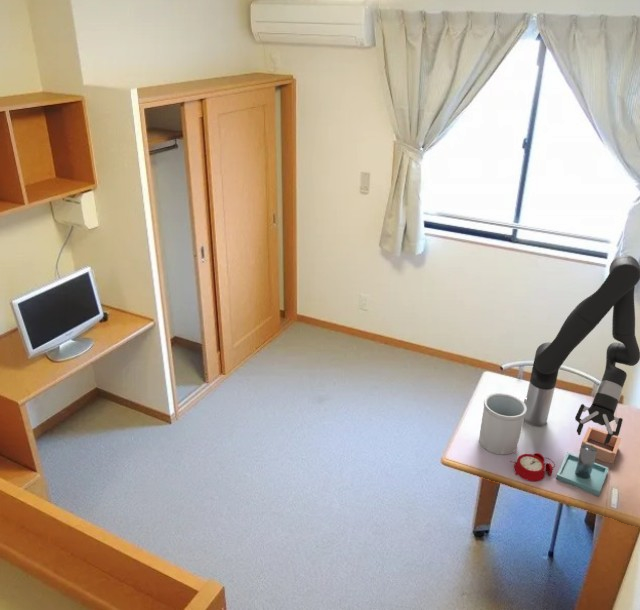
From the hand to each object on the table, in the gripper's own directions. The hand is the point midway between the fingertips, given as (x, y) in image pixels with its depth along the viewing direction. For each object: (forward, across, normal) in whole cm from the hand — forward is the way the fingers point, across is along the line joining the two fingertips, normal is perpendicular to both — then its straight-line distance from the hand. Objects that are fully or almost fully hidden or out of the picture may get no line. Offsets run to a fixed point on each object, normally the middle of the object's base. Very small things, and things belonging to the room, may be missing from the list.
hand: (591, 439), depth 202 cm
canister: (+11, +1, +6) cm, 13 cm away
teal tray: (+12, +1, +7) cm, 14 cm away
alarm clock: (+18, -14, +2) cm, 23 cm away
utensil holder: (+13, -29, +7) cm, 33 cm away
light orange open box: (-1, +2, +20) cm, 20 cm away
